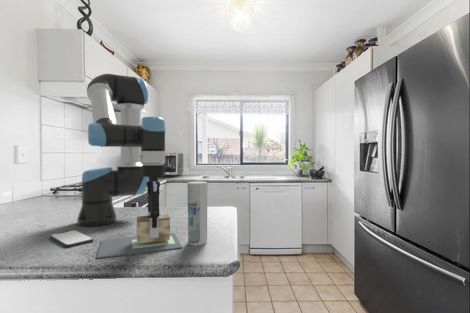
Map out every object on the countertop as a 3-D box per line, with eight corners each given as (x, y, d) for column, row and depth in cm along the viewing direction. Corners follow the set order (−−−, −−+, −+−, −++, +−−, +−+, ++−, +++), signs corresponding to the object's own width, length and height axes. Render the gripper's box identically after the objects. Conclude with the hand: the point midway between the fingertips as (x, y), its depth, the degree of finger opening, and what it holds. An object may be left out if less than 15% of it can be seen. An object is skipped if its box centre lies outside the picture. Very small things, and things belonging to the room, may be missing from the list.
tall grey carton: (183, 242, 91) (183, 182, 90) (198, 238, 95) (198, 181, 95) (196, 247, 86) (196, 183, 86) (211, 242, 91) (211, 182, 91)
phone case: (95, 243, 92) (75, 233, 102) (95, 238, 92) (75, 229, 102) (65, 250, 85) (48, 239, 95) (65, 245, 85) (48, 234, 95)
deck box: (167, 234, 95) (167, 214, 95) (169, 239, 89) (169, 217, 89) (136, 238, 91) (136, 216, 91) (137, 243, 86) (137, 220, 86)
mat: (101, 241, 92) (101, 239, 92) (173, 233, 101) (173, 232, 101) (96, 258, 76) (96, 257, 76) (182, 248, 85) (182, 246, 85)
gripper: (139, 163, 98) (140, 228, 98) (142, 165, 80) (142, 244, 80) (161, 163, 100) (161, 226, 100) (168, 165, 83) (168, 241, 83)
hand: (153, 234), depth 90 cm, fingers closed on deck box, 6 cm apart
